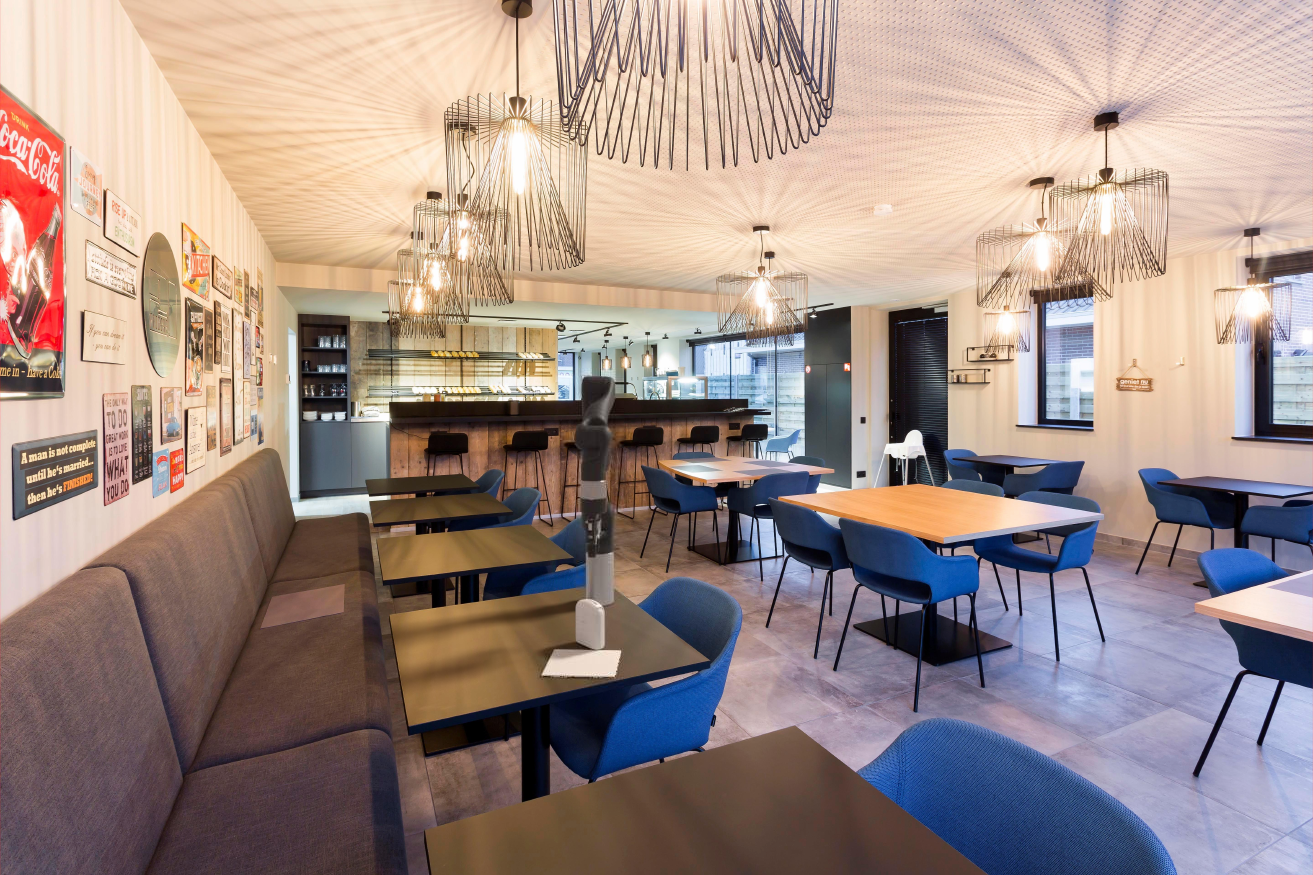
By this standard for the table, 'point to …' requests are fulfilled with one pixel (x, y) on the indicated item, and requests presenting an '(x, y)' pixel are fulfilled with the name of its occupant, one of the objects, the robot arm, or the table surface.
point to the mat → (582, 663)
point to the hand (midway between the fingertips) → (593, 554)
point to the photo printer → (590, 624)
